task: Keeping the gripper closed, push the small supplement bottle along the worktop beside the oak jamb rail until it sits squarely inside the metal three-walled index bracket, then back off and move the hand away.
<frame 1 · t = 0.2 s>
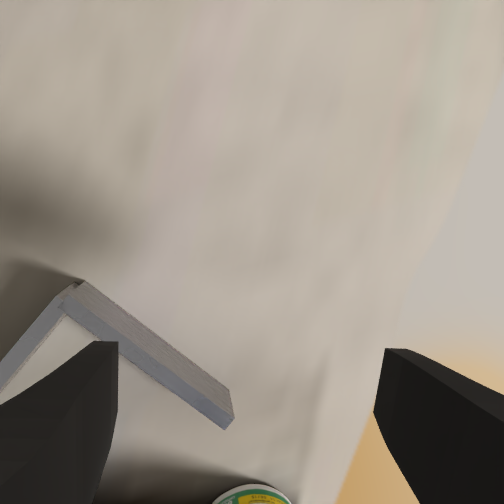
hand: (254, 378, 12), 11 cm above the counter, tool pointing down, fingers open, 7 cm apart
index bracket: (97, 421, 22), on the counter
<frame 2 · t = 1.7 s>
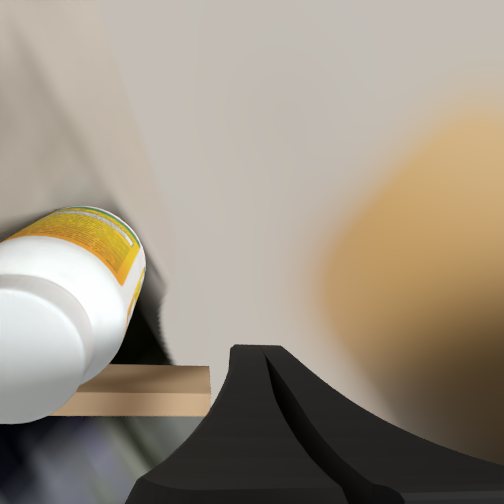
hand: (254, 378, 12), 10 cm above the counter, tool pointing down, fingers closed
supplement bottle: (89, 258, 21), on the counter
jamb rail: (2, 373, 22), on the counter
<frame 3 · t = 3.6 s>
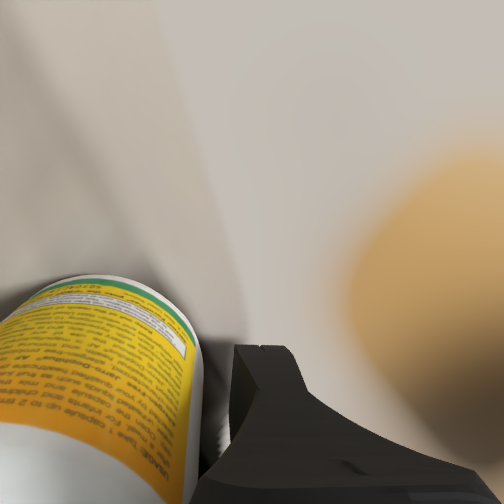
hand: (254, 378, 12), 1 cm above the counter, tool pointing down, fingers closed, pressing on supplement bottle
supplement bottle: (108, 356, 13), on the counter, touching gripper
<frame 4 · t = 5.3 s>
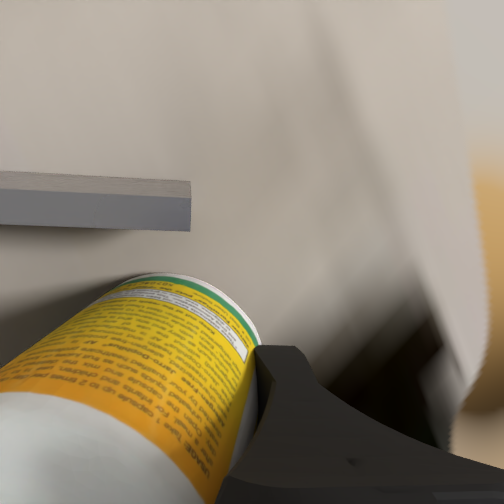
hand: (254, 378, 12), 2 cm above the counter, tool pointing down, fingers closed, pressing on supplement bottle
supplement bottle: (177, 352, 13), on the counter, touching gripper
index bracket: (35, 357, 13), on the counter
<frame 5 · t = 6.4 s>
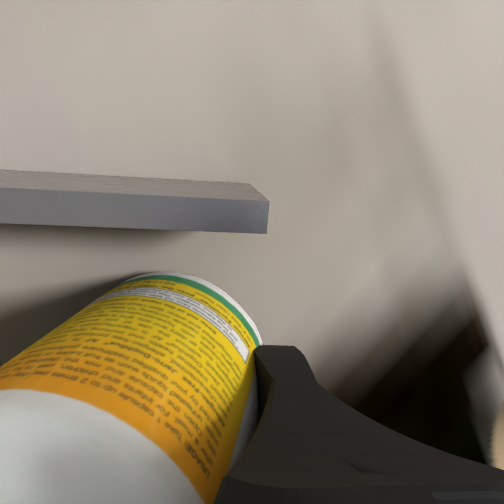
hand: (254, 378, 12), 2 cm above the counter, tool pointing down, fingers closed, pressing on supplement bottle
supplement bottle: (178, 351, 13), on the counter, touching gripper
index bracket: (94, 356, 13), on the counter
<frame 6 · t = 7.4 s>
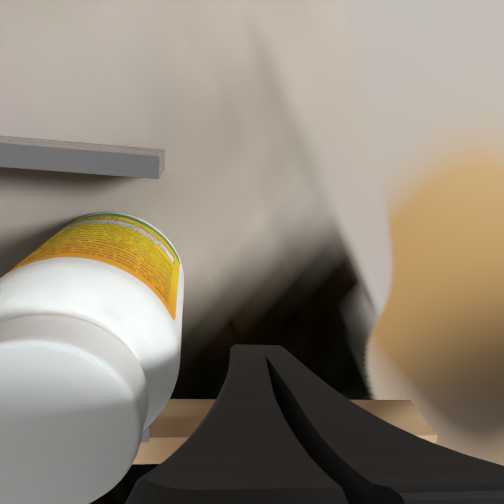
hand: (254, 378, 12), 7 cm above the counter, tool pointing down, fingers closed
supplement bottle: (116, 273, 18), on the counter
jamb rail: (196, 411, 20), on the counter
index bracket: (50, 277, 17), on the counter
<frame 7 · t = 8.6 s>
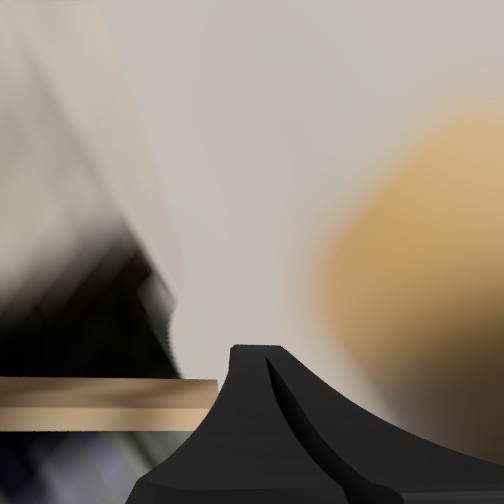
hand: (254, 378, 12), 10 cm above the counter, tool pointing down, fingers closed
jamb rail: (14, 387, 22), on the counter
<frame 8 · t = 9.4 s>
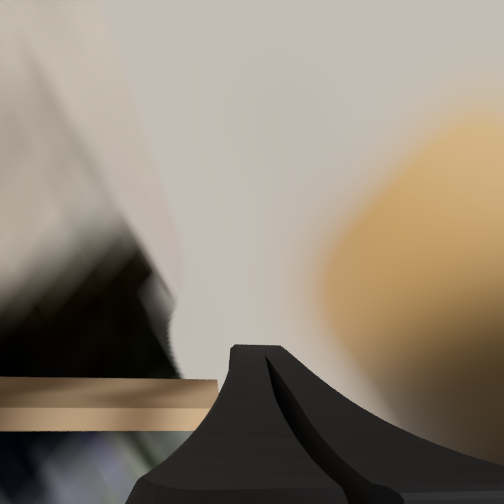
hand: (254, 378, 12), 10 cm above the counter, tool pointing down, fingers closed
jamb rail: (14, 387, 22), on the counter
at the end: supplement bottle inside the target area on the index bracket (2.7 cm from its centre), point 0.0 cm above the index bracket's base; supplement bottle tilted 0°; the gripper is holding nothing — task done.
